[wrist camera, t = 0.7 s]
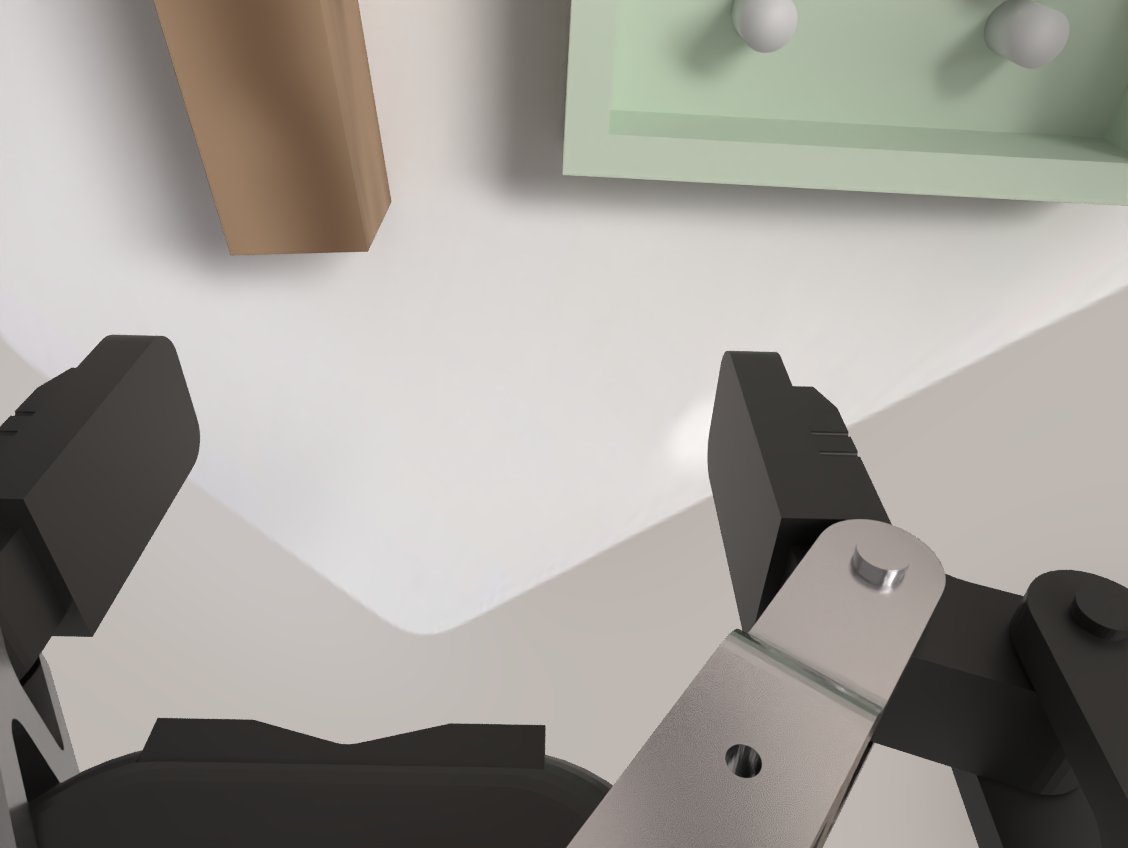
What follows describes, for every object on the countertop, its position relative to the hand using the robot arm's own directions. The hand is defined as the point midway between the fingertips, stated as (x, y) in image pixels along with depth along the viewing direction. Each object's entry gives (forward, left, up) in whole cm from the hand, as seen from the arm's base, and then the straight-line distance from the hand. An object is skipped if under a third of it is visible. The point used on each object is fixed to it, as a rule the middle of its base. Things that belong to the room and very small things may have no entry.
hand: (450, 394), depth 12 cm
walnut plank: (-1, -8, -22) cm, 24 cm away
